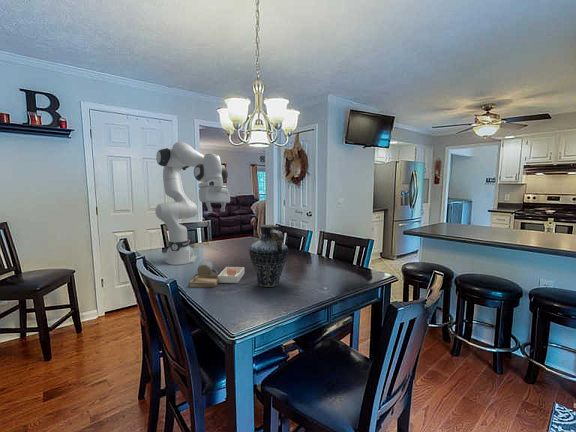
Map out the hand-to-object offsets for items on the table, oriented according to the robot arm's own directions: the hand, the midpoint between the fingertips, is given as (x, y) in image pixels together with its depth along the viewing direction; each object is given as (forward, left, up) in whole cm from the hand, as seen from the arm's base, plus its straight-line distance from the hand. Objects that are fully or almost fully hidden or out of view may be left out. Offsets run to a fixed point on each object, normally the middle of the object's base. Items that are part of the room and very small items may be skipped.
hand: (216, 211), depth 154 cm
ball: (-4, +6, -33) cm, 34 cm away
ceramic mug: (-8, -9, -37) cm, 38 cm away
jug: (+5, +28, -37) cm, 46 cm away
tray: (+5, -5, -36) cm, 37 cm away
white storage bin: (-4, +6, -36) cm, 37 cm away
